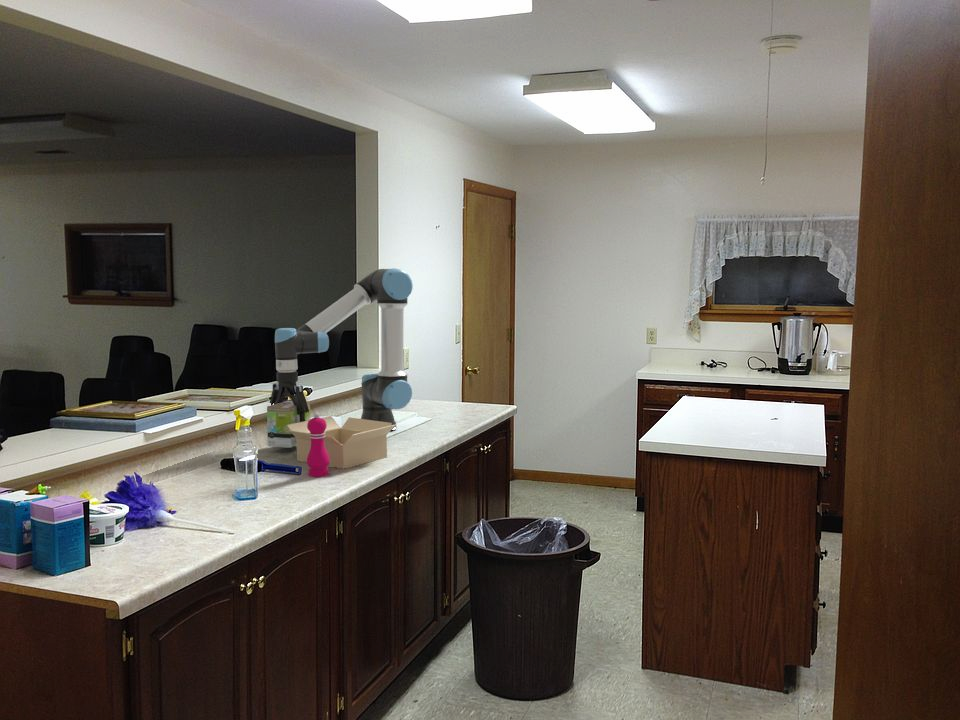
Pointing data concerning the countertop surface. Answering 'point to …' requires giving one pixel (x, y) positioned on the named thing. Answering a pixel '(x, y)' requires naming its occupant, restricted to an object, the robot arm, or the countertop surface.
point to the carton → (346, 441)
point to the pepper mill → (317, 448)
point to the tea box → (282, 423)
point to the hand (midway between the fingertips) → (289, 430)
